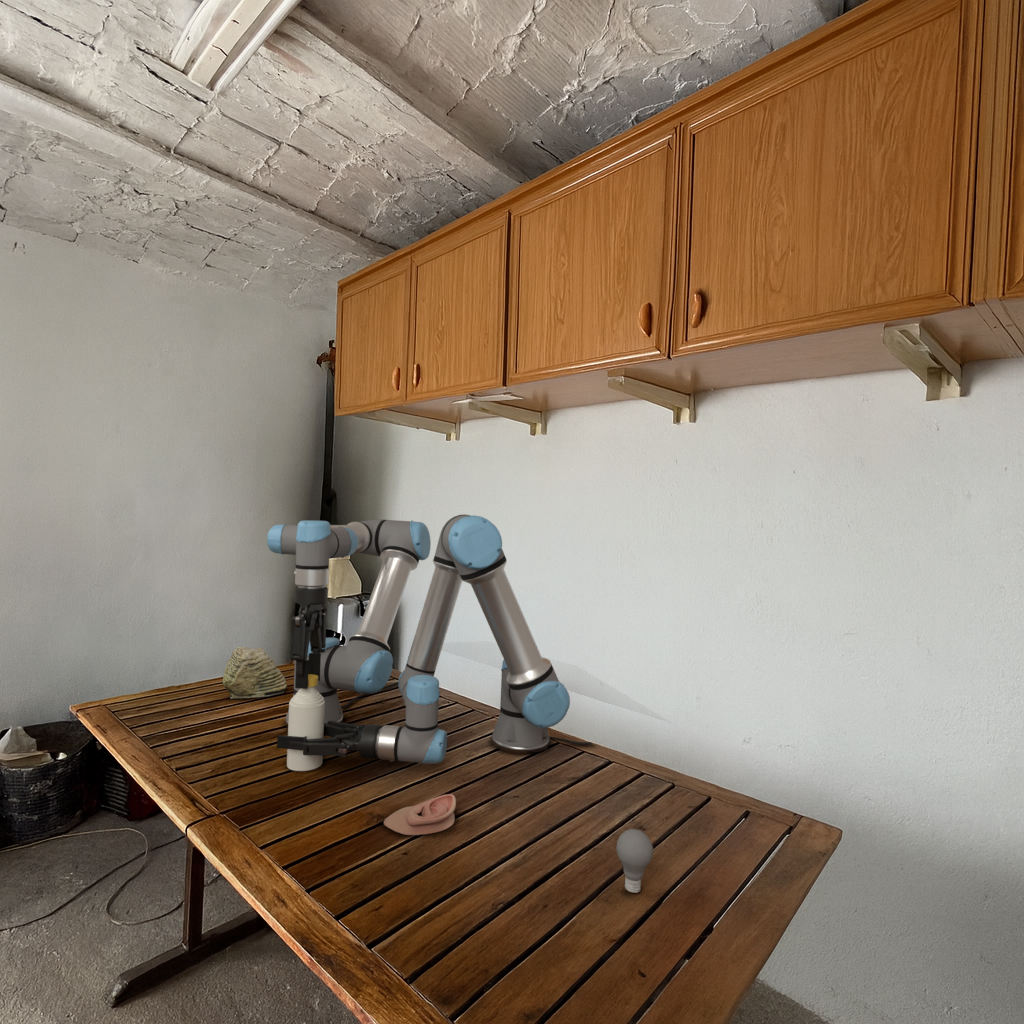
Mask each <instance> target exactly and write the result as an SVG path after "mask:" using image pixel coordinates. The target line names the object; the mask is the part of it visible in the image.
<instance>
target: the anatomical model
mask: <svg viewBox="0 0 1024 1024" xmlns="http://www.w3.org/2000/svg"><path fill="white" fill-rule="evenodd" d="M456 806H457V798H456V796H455V795H454V794H452V793H447V794H442V795H438V796H435V797H433V798H430V799H427V800H425V801H423V802H420V803H418V804H416V805H411V806H405V807H402V808H400V809H398V810H396V811H394V812H393V813H391V814H390V815H388V816H387V817H386V818H384V821H383V825H384V826H385V827H386V828H388V829H390V830H392V831H393V832H396V833H398V834H401V835H405V836H420V835H429V834H435V833H439V832H442V831H444V830H447V829H449V828H450V827H453V825H454V823H455V819H456V817H455V813H454V812H455V810H456Z"/></svg>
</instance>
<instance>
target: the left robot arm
mask: <svg viewBox="0 0 1024 1024" xmlns="http://www.w3.org/2000/svg"><path fill="white" fill-rule="evenodd" d="M266 537H267V539H266V544H267V547H268V549H269V550H270V551H271V552H272V553H275V554H281V555H291V556H292V555H293V556H295V570H294V572H293V574H294V575H295V576H294V585H295V587H294V591H293V592H294V594H293V601H294V604H297V605H299V609H298V615H297V616H295V615H293V616H292V617H291V622H292V634H291V650H290V651H291V652H290V660H291V661H294V672H293V696H294V695H296V693H297V692H298V690H300V688H301V689H307V688H308V674H313V675H317V676H318V685H317V686H315V689H317V691H318V692H319V694H321V696H323V698H324V700H325V711H324V723H327V722H328V721H335V722H342V723H344V714H343V709H345V708H347V707H349V706H351V704H352V703H353V702H355V701H357V700H359V699H360V698H362V697H365V696H367V695H370V694H376V693H379V692H380V691H381V690H385V689H388V688H389V689H390V688H392V687H394V686H399V685H398V681H397V682H394V683H391V684H388V682H389V680H390V677H391V675H392V672H393V668H394V667H393V664H394V658H393V655H392V653H391V652H390V651H391V647H390V645H389V644H388V640H389V637H390V635H391V631H392V628H393V625H394V623H395V619H396V616H397V613H398V610H399V607H400V603H401V601H402V598H403V594H404V591H405V589H406V586H407V583H408V580H409V576H410V574H411V572H412V571H415V570H416V569H417V568H418V565H419V562H420V561H425V560H427V559H428V558H429V556H430V554H431V553H430V552H431V543H432V542H431V535H430V531H429V528H428V526H427V525H426V524H425V523H424V522H421V521H414V520H396V519H394V520H393V519H381V518H380V519H370V520H363V521H352V522H348V523H347V524H331V523H330V522H329V521H327V520H313V519H311V520H308V519H307V520H300V521H299V522H298V523H297V524H286V523H284V524H274V525H273V526H271V528H270V529H269V530H268V533H267V535H266ZM353 554H362V555H367V556H368V555H369V556H375V557H380V559H381V561H382V564H381V567H380V569H379V572H378V574H377V578H376V579H375V580H376V581H375V583H374V586H373V589H372V591H371V594H370V596H369V600H368V603H367V605H366V608H365V610H364V614H363V617H362V620H361V622H360V625H359V626H358V629H357V633H355V634H353V635H351V636H350V637H349V639H348V641H347V644H346V645H340V644H341V643H340V642H341V641H340V639H339V638H337V637H327V614H328V608H327V607H323V606H322V605H324V604H326V603H327V602H328V597H329V588H328V587H327V586H328V585H329V582H330V581H329V580H330V579H329V576H330V569H329V567H330V559H331V560H332V559H338V558H341V559H344V558H346V557H350V556H351V555H353ZM387 684H388V685H387ZM338 690H339V691H340V690H341V691H347V692H354V693H357V694H358V693H359V694H358V695H357V696H355V697H353V698H351V700H349V702H347V703H346V704H344V705H341V702H340V699H339V695H338ZM288 721H289V709H288V711H287V713H286V715H285V726H286V728H288Z"/></svg>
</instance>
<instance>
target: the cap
mask: <svg viewBox="0 0 1024 1024" xmlns="http://www.w3.org/2000/svg"><path fill="white" fill-rule="evenodd" d="M317 685H318V676H317V675H313V674H308V687H314V686H317Z"/></svg>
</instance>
